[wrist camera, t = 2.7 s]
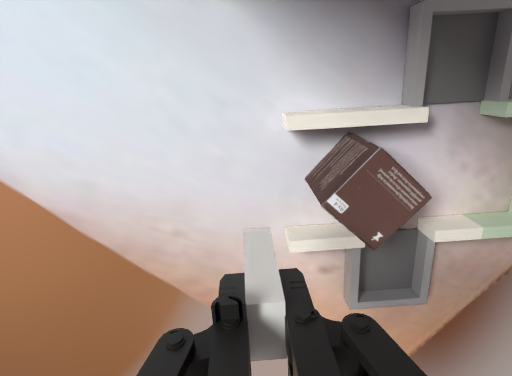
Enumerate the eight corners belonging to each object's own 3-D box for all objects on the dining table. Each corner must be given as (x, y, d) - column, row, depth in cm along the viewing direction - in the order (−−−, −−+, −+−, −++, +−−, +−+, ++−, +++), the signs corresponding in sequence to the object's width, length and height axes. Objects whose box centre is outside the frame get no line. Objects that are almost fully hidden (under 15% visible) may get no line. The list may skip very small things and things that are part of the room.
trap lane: (279, 13, 25) (284, 4, 23) (569, -2, 26) (609, -13, 23) (287, 301, 34) (291, 321, 32) (502, 285, 35) (525, 303, 32)
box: (390, 171, 30) (435, 198, 23) (345, 215, 32) (374, 253, 25) (347, 129, 29) (381, 145, 22) (301, 177, 30) (320, 206, 23)
